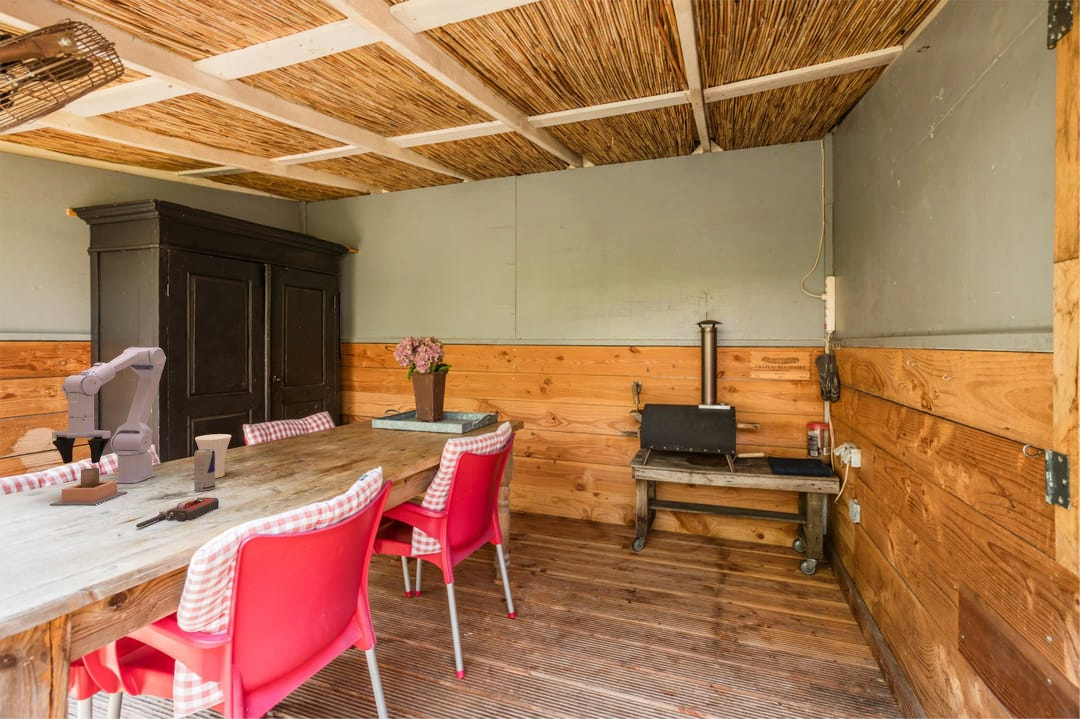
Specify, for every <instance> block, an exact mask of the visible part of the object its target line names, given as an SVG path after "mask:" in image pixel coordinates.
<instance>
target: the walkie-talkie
mask: <svg viewBox="0 0 1080 719" xmlns="http://www.w3.org/2000/svg"><path fill="white" fill-rule="evenodd" d="M219 500H220V499H219V498H218V497H206V496H197V497H196V498H188V499H185V500H184V501H181V502H178V503H177V506H172V507H170V508H167V509H164V510H161V511H160V512H158V513H159V514H157V515H156V516H154V517H152V518H149V519H147V520H144V521H141V522H139V523H137V524H136V525H135V527H136V528H142V527H145V526H147V525H149V524H152V523H155V522H156V521H160V520H166V521H167V520H168V521H179V522H183V521H185V520H190V521H193V520H195V519H196V517H197V518H199V517H201V515H202V516H204V515H206V514H208V513H210V512H209V511H211V510H212V511H214V510H213V509H215V510H217V509H219V508H220V507H219V506H220V505H219V504H220V503H219ZM218 507H219V508H218ZM216 508H217V509H216ZM212 511H211V512H212ZM207 512H208V513H207ZM205 513H206V514H205ZM198 516H199V517H198ZM163 518H164V519H163ZM194 518H195V519H194ZM192 519H193V520H192Z"/></svg>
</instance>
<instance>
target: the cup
mask: <svg viewBox="0 0 1080 719" xmlns="http://www.w3.org/2000/svg"><path fill="white" fill-rule="evenodd" d="M231 438H232V435H231V434H225V433H223V434H222V433H217V434H205V435H200V436H196V437H195V438H194V440H195V442H196V445H197V447H198V450H203V449H213V450H214V452H215V479H216V478H217V479H218V478H221V477H224V476H225V474H226V473H225V459H226V453H227V451H228V447H229V444H230V441H231Z"/></svg>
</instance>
